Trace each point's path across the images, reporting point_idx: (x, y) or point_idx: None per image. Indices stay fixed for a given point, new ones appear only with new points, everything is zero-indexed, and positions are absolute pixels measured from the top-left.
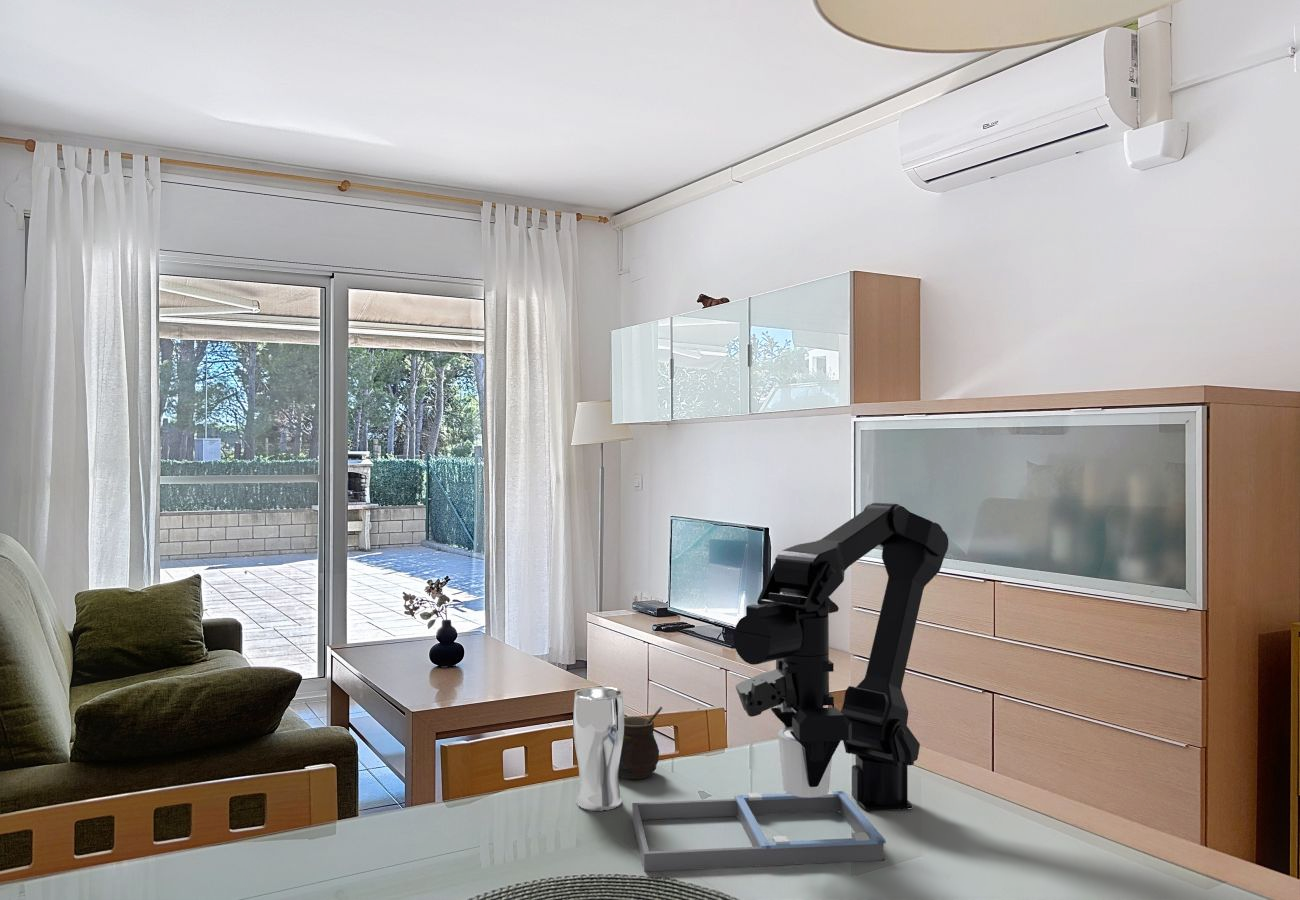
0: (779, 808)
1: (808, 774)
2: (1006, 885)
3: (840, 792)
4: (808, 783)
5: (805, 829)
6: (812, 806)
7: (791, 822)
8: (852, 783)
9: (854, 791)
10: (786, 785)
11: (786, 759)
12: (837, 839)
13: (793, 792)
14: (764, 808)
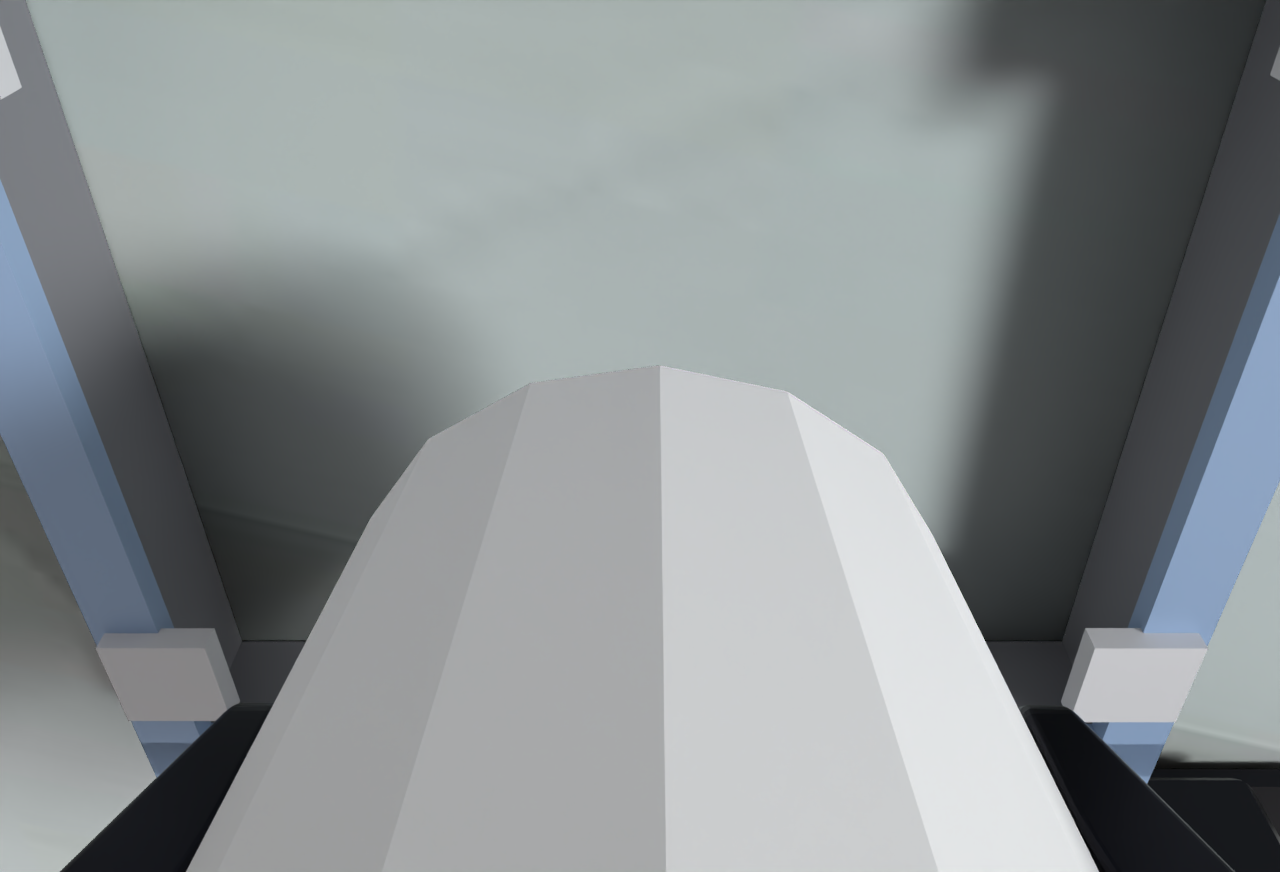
0: (1219, 240)
1: (78, 861)
2: None
3: (1126, 761)
4: (229, 726)
5: (787, 351)
6: (1133, 512)
7: (968, 277)
8: (1272, 857)
9: (1201, 818)
10: (508, 440)
11: (349, 819)
12: (105, 528)
13: (420, 464)
14: (1276, 83)
